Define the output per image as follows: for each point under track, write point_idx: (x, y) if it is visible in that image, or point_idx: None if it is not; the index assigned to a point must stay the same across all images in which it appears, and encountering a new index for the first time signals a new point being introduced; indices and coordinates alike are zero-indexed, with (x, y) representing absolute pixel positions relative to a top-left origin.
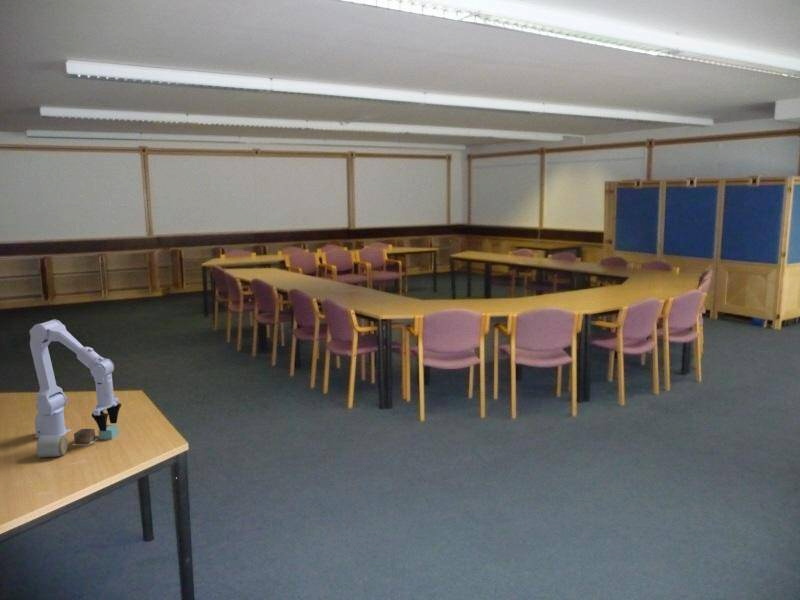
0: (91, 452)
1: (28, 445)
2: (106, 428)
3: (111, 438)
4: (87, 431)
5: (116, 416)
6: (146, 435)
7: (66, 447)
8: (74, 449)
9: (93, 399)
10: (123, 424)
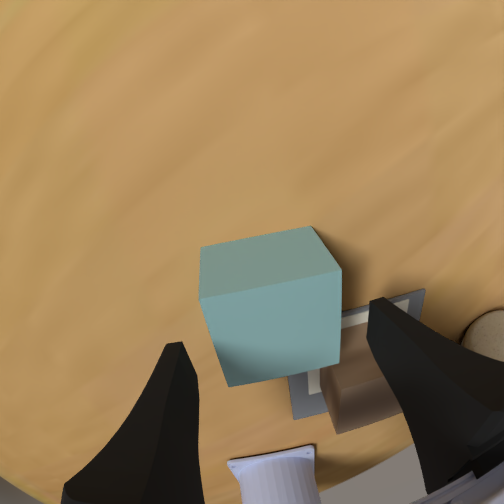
0: (479, 221)
1: (369, 451)
2: (380, 308)
3: (316, 236)
4: (386, 387)
5: (169, 394)
6: (147, 6)
7: (480, 338)
8: (434, 326)
9: (23, 477)
10: (48, 337)
